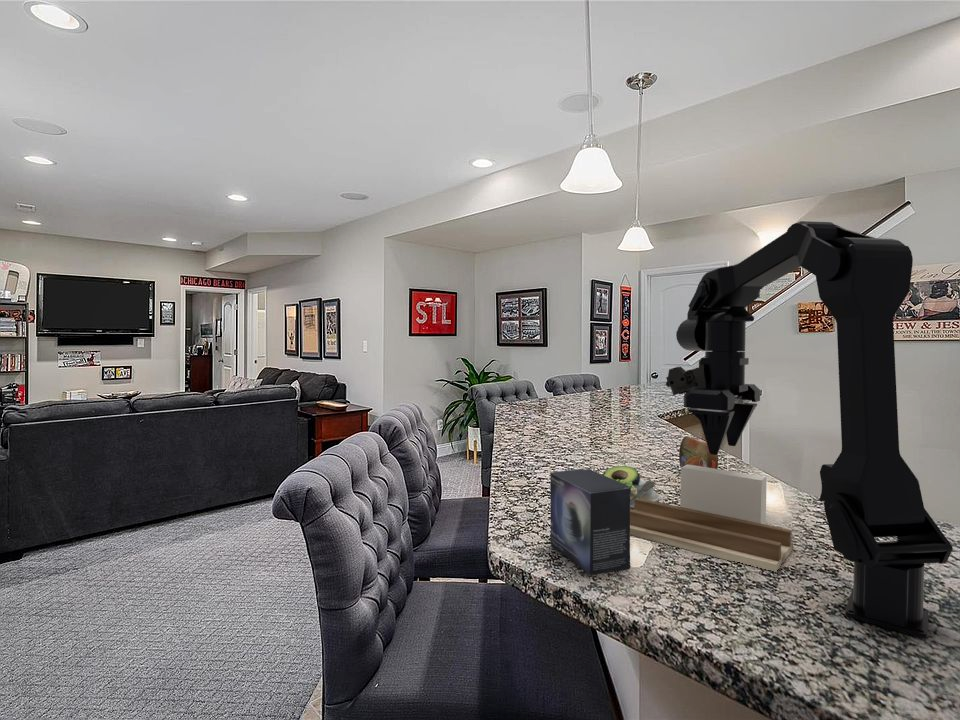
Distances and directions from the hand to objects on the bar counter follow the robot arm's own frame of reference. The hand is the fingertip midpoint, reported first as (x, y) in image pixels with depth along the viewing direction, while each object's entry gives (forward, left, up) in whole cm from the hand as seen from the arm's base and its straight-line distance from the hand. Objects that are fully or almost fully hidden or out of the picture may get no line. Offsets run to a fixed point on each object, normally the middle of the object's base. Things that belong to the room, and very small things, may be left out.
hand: (723, 449), depth 83 cm
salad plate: (+2, +20, -12) cm, 23 cm away
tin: (+25, +12, -12) cm, 30 cm away
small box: (-26, +9, -12) cm, 30 cm away
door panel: (0, 0, -12) cm, 12 cm away
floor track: (-10, 0, -11) cm, 15 cm away
